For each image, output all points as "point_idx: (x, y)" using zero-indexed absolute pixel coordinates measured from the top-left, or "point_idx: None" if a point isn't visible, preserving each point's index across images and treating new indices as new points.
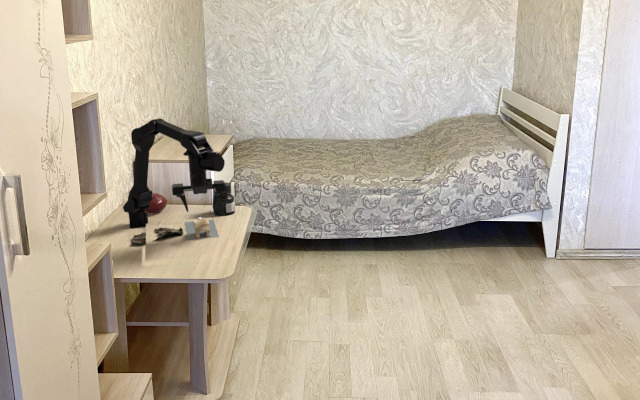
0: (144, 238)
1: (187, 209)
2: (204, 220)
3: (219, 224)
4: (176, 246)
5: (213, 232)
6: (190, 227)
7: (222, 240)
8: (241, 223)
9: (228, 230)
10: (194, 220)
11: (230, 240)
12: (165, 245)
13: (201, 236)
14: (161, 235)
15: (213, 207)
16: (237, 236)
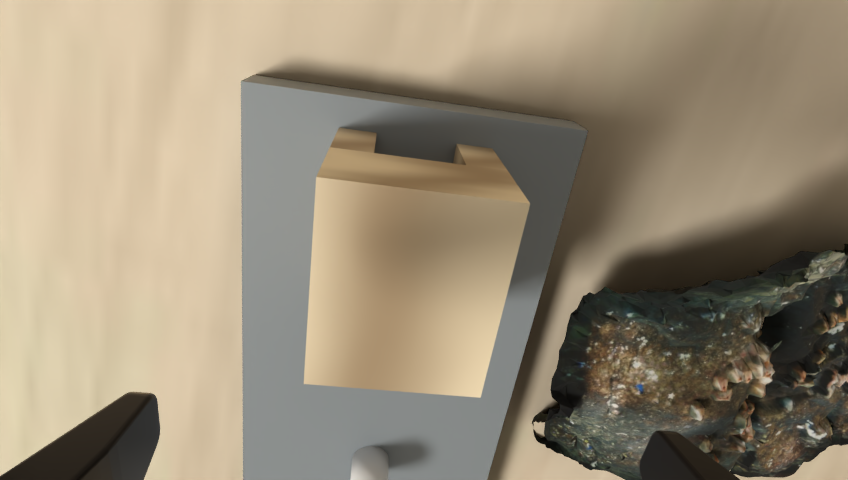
0: (842, 368)
1: (700, 469)
2: (359, 335)
3: (209, 472)
4: (693, 102)
5: (283, 247)
6: (459, 438)
7: (216, 73)
8: (16, 439)
9: (138, 327)
10: (480, 380)
11: (124, 30)
12: (762, 175)
13: None
14: (754, 335)
15: (113, 423)
16: (41, 129)
